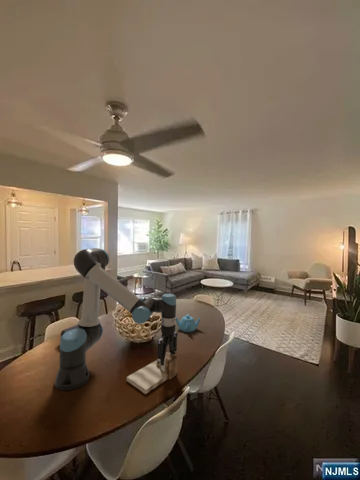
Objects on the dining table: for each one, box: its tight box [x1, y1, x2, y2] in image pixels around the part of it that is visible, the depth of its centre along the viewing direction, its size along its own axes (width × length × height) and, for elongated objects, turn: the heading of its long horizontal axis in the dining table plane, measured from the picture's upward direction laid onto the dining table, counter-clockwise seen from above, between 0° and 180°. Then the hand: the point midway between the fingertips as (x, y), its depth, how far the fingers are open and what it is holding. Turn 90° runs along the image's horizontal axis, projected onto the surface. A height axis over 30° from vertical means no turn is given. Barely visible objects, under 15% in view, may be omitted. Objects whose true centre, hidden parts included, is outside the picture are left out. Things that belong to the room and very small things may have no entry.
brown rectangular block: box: [156, 351, 178, 380], centre depth 119 cm, size 5×12×10 cm, turn 51°
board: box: [126, 358, 169, 395], centre depth 116 cm, size 22×14×2 cm, turn 141°
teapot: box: [175, 313, 201, 333], centre depth 176 cm, size 15×15×11 cm
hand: (166, 368), depth 118 cm, fingers closed on brown rectangular block, 5 cm apart
